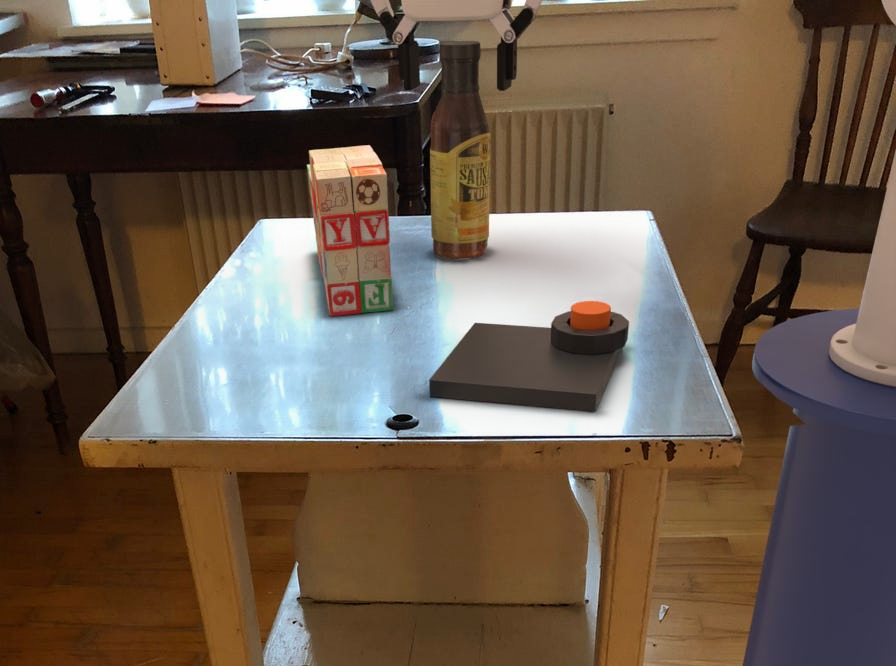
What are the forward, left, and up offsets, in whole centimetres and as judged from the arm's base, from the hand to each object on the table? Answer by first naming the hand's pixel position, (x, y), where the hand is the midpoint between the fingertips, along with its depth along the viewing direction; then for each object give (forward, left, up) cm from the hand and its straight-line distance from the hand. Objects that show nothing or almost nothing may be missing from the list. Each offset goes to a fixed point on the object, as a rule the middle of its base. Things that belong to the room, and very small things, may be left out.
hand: (457, 88), depth 97 cm
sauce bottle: (0, 0, -16) cm, 16 cm away
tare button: (-19, +27, -13) cm, 36 cm away
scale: (-15, +31, -16) cm, 38 cm away
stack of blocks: (+8, +11, -16) cm, 21 cm away
